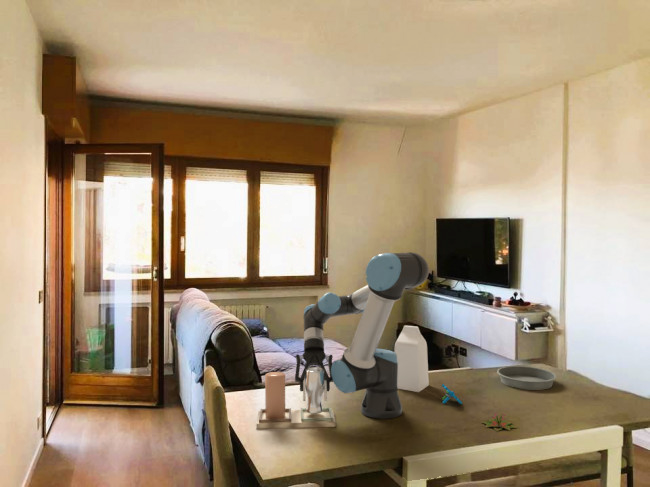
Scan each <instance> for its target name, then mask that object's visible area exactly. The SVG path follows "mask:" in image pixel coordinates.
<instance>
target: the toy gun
mask: <svg viewBox="0 0 650 487" xmlns="http://www.w3.org/2000/svg"><path fill="white" fill-rule="evenodd" d="M441 386H442V388H443V389H444V390H446V391H445V395H444V396H443V397H441V398H442V399H441V400H442V403H443V405H444V404H445V405H446V403H447V402H448V401H449V400H451V399H452V398H454V400H455V401H457V403H459V404H460V405H462V404H463V402H462V401H461V399H459V398H458V397H457V396H456V394H455V392H454V391H452V390H450V389H449V388H448V387H447V386H446V385H445V384H444V383H443V384H442V385H441Z"/></svg>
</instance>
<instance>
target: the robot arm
mask: <svg viewBox="0 0 650 487" xmlns="http://www.w3.org/2000/svg"><path fill="white" fill-rule="evenodd" d="M429 273H430V267H429V263H428V262H427V260H426V258H425V257H423V256H422V255H421V254H419V253H416V252H411V251H409V252H393V253H392V252H384V253H380V254H377V255H375V256H373V257H372V258H371V259H370V260H369V261H368V263H367V265H366V269H365V275H366V277H365V280H366V283H367V284H366V285H365V286H363V287H361V288H359V289H358V290H355V291H354V292H352V293H351V294H347V295H339V296H338V295H337V294H336V293H333V292H326V293H325V294H323V296H321V297H320V298H319V299H318V301H317V302H316V303H315V304H314V303H313V304H309V305H307V306H305V308H304V309H303V342H304V343H303V354H302V355H301V354H296V356H295V361H296V366H295V377H294V382H295V383H299V391H300V392H303V393H302V402H306V400H307V394H306V385H305V375H306V369H307V368H310V367H320V368H323V369H324V374H325V384H324V392H323V398H324V399H323V400H324V402H327V401H328V392H330V388H331V384H330V383H333V384H334V387H336V389H338V391H339V392H341V393H344V394H349V393H355V392H359V391H363V390H365V393H364V396H363V399H362V402H361V406H360V412H361V414H362V415H364V416H366V417H369V418H371V419H394V418H397V417H400V416H401V415H402V414H403V405H402V402H401V400H400V396H399V392H398V388H397V375H398V362H397V354H396V353H395V352H394V351H392V350H388V349H383V348H378V346H379V344H380V340H381V338H382V336H383V333H384V331H385V328H386V325H387V322H388V319H389V317H390V315H391V312H392V309H393V306H394V304H395V302H397V301H399V300H400V299H401V298H402V297H403V294H404V292H405V291H409V290H413V289H415V288H416V287H419V286H421V285H422V284H424V283H425V282H426V280H427V279H428V277H429ZM359 314H362V315H361V316H360V320H359V322H358V325H357V328H356V330H355V333H354V336H353V338H352V342H351V344H350V346H349V347H346V348H345V349H344V351H343V354H342V356H341V359H337V360H335V361H333V355H332V354H329V355H328V354H326V353H325V343H324V342H325V341H324V339H325V337H324V333H325V332H324V325H325V323H327V321H329V320H330V319H331V318H333V317H340V316H341V317H342V316H348V315H349V316H350V315H359ZM303 360H304V361H305V362H306V363H305V365H304V368H303V369H302V372H301V373H302V374H301V376H300V369H301V362H302V361H303ZM324 360H325V361H326V362H327V364H328V365H327V367H328V371H329V375H328V372H327V369H326V368H325V365H324Z"/></svg>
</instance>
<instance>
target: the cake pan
mask: <svg viewBox="0 0 650 487" xmlns="http://www.w3.org/2000/svg"><path fill="white" fill-rule="evenodd" d="M496 373H497V374H498V375H499V377H500V382H501V383H502V384H504V385H506V386H508V387H512V388H515V389H520V390H531V391H540V390H546V389H547V390H548V389H550V388H552V387H553V384H554V381H555V380H556V379H557V377H558V376H557V375H556V374H555V373H554V372H552V371H550V370H547V369H543V368H539V367H534V366H533V367H532V366H523V365H521V366H520V365H510V366H503V367H500V368H497V371H496Z"/></svg>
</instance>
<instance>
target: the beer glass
mask: <svg viewBox="0 0 650 487" xmlns="http://www.w3.org/2000/svg"><path fill="white" fill-rule="evenodd" d="M304 381H305V385H306V407H305V408H306V412H307V413H310V414H319V413H322V412H323V408H324V407H323V398H324V384H325V374H324V369H323V368H320V367H319V366H310V367H309V368H307V369H306V375H305V379H304Z"/></svg>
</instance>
